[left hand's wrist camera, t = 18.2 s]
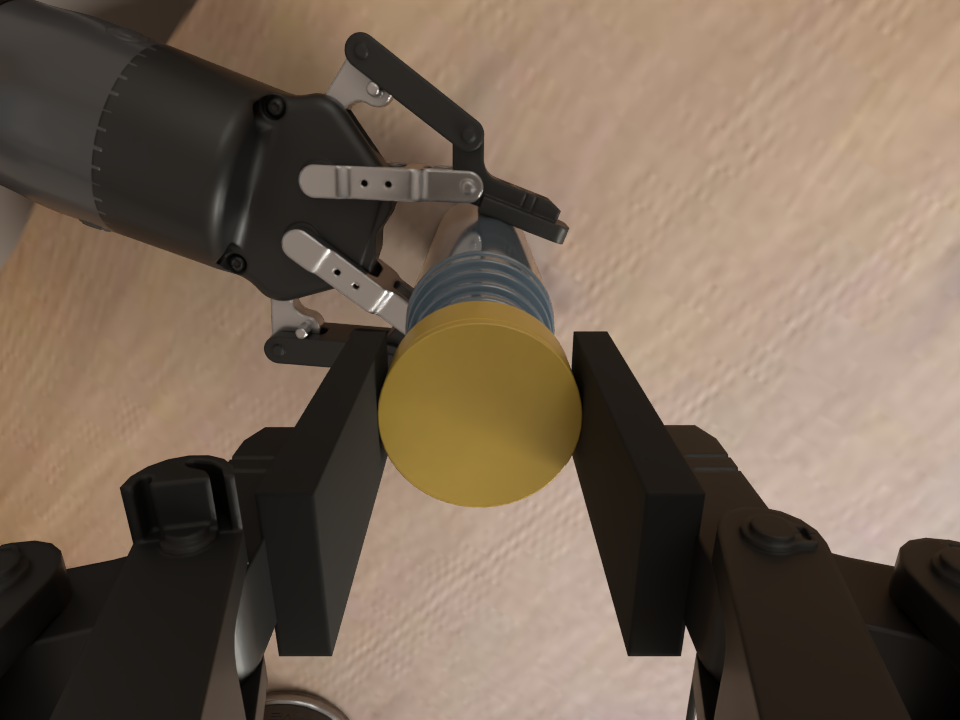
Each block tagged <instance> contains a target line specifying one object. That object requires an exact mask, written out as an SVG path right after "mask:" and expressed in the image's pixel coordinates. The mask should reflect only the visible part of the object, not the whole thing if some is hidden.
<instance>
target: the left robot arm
mask: <svg viewBox="0 0 960 720" xmlns="http://www.w3.org/2000/svg"><path fill="white" fill-rule="evenodd" d="M387 372H388V353H387V336H386V332H352V334H351V335H350V337H349V339H348V340H347V342H346V344H345V345H344V347H343V349H342V350H341V352H340V353H339V355H338V357H337V358H336V360H335V362H334V363H333V365H332V367H331V368H330V370H329V372H328V373H327V375H326V376H325V378H324V380H323V381H322V383H321V385H320V386H319V388H318V390H317V391H316V393H315V395H314V396H313V398H312V399H311V401H310V403H309V404H308V406H307V408H306V409H305V411H304V413H303V414H302V416H301V418H300V419H299V421H298V422H297V424H296V426H295V427H265V428H263V429H262V430H260V431H259V432H257V433H255V434H254V435H252V436H251V437H249V438H248V439H246V440H244V441H243V443H242V444H241V445H240V447H239V448H238V450H237V451H236V452H235V454H234V455H233V456H232V460H229V462H227V461H226V460H225V459H222V458H218V457H214V456H209V455H192V456H184V457H179V458H173V459H168V460H165V461H162V462H159V463H157V464H154V465H151V466H148V467H146V468H144V469H143V470H141V471H139V472H138V473H136V474H134V475H132V476H131V477H130V478H129V479H128V480H127V481H126V482H125V483H124V484H123V485H122V486H121V487H120V491H121V495H122V499H123V503H124V507H125V511H126V515H127V520H128V524H129V528H130V532H131V536H132V540H133V546H132V548H131V550H130V552H129V554H128V556H126V557H122V558H118V559H115V560H110V561H105V562H100V563H95V564H90V565H85V566H80V567H75V568H70V569H66V567H65V563H64V560H63V556H62V553H61V551H60V550H59V549H58V548H57V547H55V546H54V545H53V544H52V543H46V542H40V541H27V542H16V543H9V544H4V545H1V546H0V720H263V716H264V707H265V699H266V691H267V682H268V680H267V672H266V666H265V659H264V652H265V650H266V647H267V645H268V642H269V640H270V637H271V635H272V632H273V630H274V628H275V632H276V639H277V645H278V652H279V656H332V654H333V651H334V647H335V643H336V640H337V636H338V632H339V629H340V625H341V622H342V618H343V614H344V611H345V607H346V604H347V600H348V596H349V593H350V589H351V586H352V582H353V578H354V575H355V571H356V568H357V564H358V560H359V557H360V553H361V550H362V546H363V542H364V539H365V535H366V532H367V528H368V524H369V521H370V517H371V514H372V510H373V506H374V503H375V499H376V496H377V492H378V488H379V485H380V481H381V477H382V474H383V470H384V467H385V463H386V459H387V456H388V455H387V453H386V451H385V449H384V446H383V443H382V440H381V438H380V433H379V428H378V415H377V411H378V401H379V397H380V392H381V389H382V386H383V383H384V380H385V378H386V375H387ZM572 373H573V376H574V379H575V381H576V384H577V387H578V389H579V393H580V398H581V402H582V428H581V432H580V436H579V440H578V443H577V445H576V448H575V451H574V452H573V454H572V456H573V460H574V463H575V467H576V470H577V474H578V478H579V481H580V485H581V488H582V492H583V496H584V499H585V503H586V506H587V510H588V514H589V517H590V521H591V524H592V528H593V532H594V535H595V539H596V542H597V546H598V550H599V553H600V557H601V560H602V564H603V568H604V571H605V575H606V578H607V582H608V586H609V589H610V593H611V597H612V600H613V604H614V607H615V611H616V615H617V618H618V622H619V625H620V629H621V633H622V636H623V640H624V643H625V647H626V651H627V654H628V656H681V652H682V645H683V639H684V632H685V625H686V627H687V629H688V632H689V634H690V637H691V639H692V642H693V644H694V646H695V649H696V651H697V653H696V659H695V666H694V672H693V678H692V684H691V690H690V696H689V702H688V708H687V716H686V720H695V715H696V714H697V720H960V542H957V541H952V540H943V539H933V538H922V539H916V540H910V541H908V542H907V543H906V544H904V545H903V546H902V547H901V548H900V550H899V553H898V556H897V560H896V563H895V567H894V566H889V565H884V564H879V563H874V562H869V561H864V560H859V559H854V558H849V557H845V556H841V555H837V554H833V553H831V551H830V549H829V547H828V544H827V543H826V541H825V540H824V539H823V538H822V536H821V535H820V534H819V533H818V531H817V530H815V529H814V528H812V527H811V526H809V525H808V524H807V523H805V522H804V521H802V520H801V519H798V518H796V517H793V516H791V515H789V514H786V513H784V512H781V511H777V510H772V509H769V508H768V507H767V506H766V504H765V503H764V502H763V500H762V499H761V498H760V496H759V495H758V494H757V492H756V491H755V490H754V488H753V487H752V486H751V484H750V483H749V482H748V480H747V479H746V478H745V476H744V475H743V474H742V472H741V471H738V467H737V466H736V464H735V463H734V462H733V460H732V459H731V458H730V457H728V454H727V452H726V451H725V450H724V448H723V447H722V446H721V444H720V443H719V442H718V440H717V439H716V438H714V437H713V436H711V435H710V434H708V433H707V432H705V431H703V430H702V429H700V428H699V427H697V426H695V425H664V424H663V423H662V421H661V419H660V418H659V416H658V414H657V413H656V411H655V409H654V408H653V406H652V404H651V403H650V401H649V400H648V398H647V396H646V395H645V393H644V391H643V390H642V388H641V386H640V385H639V383H638V381H637V380H636V378H635V376H634V375H633V373H632V372H631V370H630V368H629V367H628V365H627V363H626V362H625V360H624V358H623V357H622V355H621V353H620V352H619V350H618V349H617V347H616V345H615V344H614V342H613V340H612V339H611V337H610V335H609V334H608V332H574V335H573V353H572Z"/></svg>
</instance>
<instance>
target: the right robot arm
mask: <svg viewBox="0 0 960 720" xmlns="http://www.w3.org/2000/svg"><path fill="white" fill-rule="evenodd" d="M345 55H346V58H347V59H346V60H345V62H344V64H343V65H342V67H341V69H340V70H339V72H338V74H337V75H336V77H335V79H334V80H333V82H332V84H331V85H330V87H329V89H328V90H327V92H326V94H320V93H315V94H309V95H293V94H290V93H287V92H285V91H282V90H280V89H277V88H275V87H272V86H269V85H267V84H264V83H262V82H259V81H257V80H254V79H252V78H249V77H247V76H244V75H242V74H239V73H237V72H234V71H231V70H229V69H226V68H224V67H221V66H219V65H216V64H214V63H211V62H209V61H206V60H204V59H201V58H199V57H196V56H194V55H191V54H189V53H186V52H184V51H181V50H179V49H176V48H174V47H171V46H168V45H166V44H163V43H161V42H158V41H156V40H153V39H151V38H148V37H146V36H144V35H142V34H140V33H138V32H136V31H133V30H130V29H127V28H123V27H121V26H118V25H116V24H113V23H110V22H107V21H105V20H102V19H99V18H96V17H93V16H89V15H86V14H82V13H79V12H74V11H70V10H66V9H62V8H58V7H54V6H50V5H47V4H44V3H41V2H39V1H36V0H0V185H2V186H4V187H6V188H8V189H10V190H13V191H15V192H17V193H19V194H21V195H22V196H24V197H26V198H28V199H30V200H32V201H34V202H36V203H38V204H40V205H43V206H45V207H47V208H50V209H52V210H55V211H57V212H60V213H63V214H65V215H68V216H71V217H74V218H76V219H79V220H80V221H81V222H82V223H83V224H85V225H88V226H90V227H93V228H96V229H100V230H103V231H108V232H111V231H113V232H116V233H118V234H121V235H124V236H127V237H130V238H133V239H136V240H138V241H141V242H144V243H147V244H150V245H152V246H155V247H158V248H161V249H164V250H166V251H169V252H172V253H175V254H178V255H181V256H183V257H186V258H189V259H192V260H195V261H197V262H200V263H203V264H206V265H209V266H212V267H214V268H217V269H220V270H224V271H227V272H231V273H234V274H237V275H240V276H242V277H244V278H246V279H247V280H249V281H250V282H251V283H253V284H254V285H255V286H256V287H257V288H258V289H259V290H260V291H261V292H262V293H263V294H264V295H265V296H267V297H269V298H271V316H272V335H271V337H270V338H269V339H268V340H267V342H266V343H265V346H264V351H265V354H266V356H267V357H268V358H269V359H270V360H271V361H273V362H275V363H282V364H294V365H307V366H319V367H332V365H333V363H334V362H335V360H336V358H337V357H338V355H339V353H340V352H341V350H342V349H343V347H344V345H345V344H346V342H347V340H348V339H349V337H350V335H351V334H352V332H386V336H387V353H388V370H389V367H390V364H391V361H392V359H393V357H394V354H395V352H396V350H397V348H398V346H399V344H400V343H401V341H402V340H403V338H404V337H405V325H406V312H407V306H408V303H409V299H410V297H411V294H412V292H413V289H414V288H412V287H411V286H410V285H409V284H407V283H406V282H405V281H403V280H402V279H401V278H400V277H399V275H398V274H397V272H396V271H395V270H393V269H392V268H391V267H390V266H388V265H387V264H386V263H384V262H383V261H382V260H380V259H379V255H380V252H381V249H382V246H383V227H384V225H385V223H386V222H387V220H388V219H389V217H390V216H391V214H392V213H393V211H394V209H395V205H396V202H397V201H403V202H421V201H435V202H455V203H470V204H473V205H475V206H478V213H480V214H482V215H485V216H488V217H490V218H493V219H496V220H499V221H502V222H504V223H506V224H508V225H511V226H513V227H516V228H519V229H521V230H524V231H526V232H529V233H532V234H534V235H537V236H539V237H542V238H545V239H547V240H550V241H552V242H555V243H558V244H563V242H564V239H565V237H566V235H567V232H568V230H569V227H568V226H567V225H566V224H565V223H564V222H562V221H560V220H558V216H559V214H560V212H561V211H560V210H559V209H558V208H557V207H556V206H555V205H554V204H553V203H552V202H551V201H550V200H549V199H548V198H547V197H544V196H542V195H539V194H537V193H534V192H531V191H529V190H526V189H524V188H521V187H519V186H516V185H514V184H511V183H509V182H506V181H504V180H501V179H499V178H496V177H494V176H492V175H491V174H490V173H489V172H488V171H487V169H486V168H485V165H484V130H483V127H482V125H481V124H480V123H479V122H478V121H477V120H476V119H474V118H473V117H472V116H471V115H469V114H468V113H467V112H466V111H464V110H463V109H462V108H461V107H459V106H458V105H457V104H456V103H454V102H453V101H452V100H450V99H449V98H448V97H447V96H445V95H444V94H443V93H442V92H440V91H439V90H438V89H437V88H435V87H434V86H433V85H432V84H430V83H429V82H428V81H427V80H425V79H424V78H423V77H422V76H420V75H419V74H418V73H417V72H415V71H414V70H413V69H412V68H410V67H409V66H408V65H406V64H405V63H404V62H403V61H401V60H400V59H399V58H398V57H396V56H395V55H394V54H393V53H391V52H390V51H389V50H388V49H386V48H385V47H384V46H383V45H381V44H380V43H379V42H378V41H376V40H375V39H374V38H373V37H371V36H370V35H368V34H366V33H363V32H357V33H354V34H352V35H351V36H350V37H349V38H348V40H347V41H346V44H345ZM394 98H395V99H396V100H397V101H398V102H400V103H401V104H402V105H404V106H405V107H406V108H407V109H409V110H410V111H411V112H413V113H414V114H415V115H416V116H418V117H419V118H420V119H422V120H423V121H424V122H425V123H427V124H428V125H429V126H431V127H432V128H433V129H434V130H436V131H437V132H438V133H440V134H441V135H442V136H443V137H445V138H446V139H447V140H449V141H450V142H451V143H452V144H453V166H442V165H428V164H419V163H399V162H386V161H385V160H384V158H383V157H382V155H381V154H380V152H379V151H378V150H377V148H376V147H375V145H374V144H373V142H372V141H371V139H370V138H369V136H368V135H367V133H366V132H365V130H364V129H363V127H362V126H361V124H360V123H359V121H358V120H357V118H356V117H355V116H354V114H353V113H352V111H351V110H350V109H351V108H352V107H353V106H354V105H355V104H357V103H359V102H365V103H367V104H369V105H371V106H374V107H385V106H387V105H389V104H390V103H391V102H392V100H393V99H394ZM355 283H357V284H358V285H359V286H356V284H355ZM334 288H335V289H337V290H338V291H339V292H341V293H342V294H343V295H345V296H346V297H347V298H349V299H350V300H351V301H353V302H354V303H356V304H357V305H358V306H360V307H361V308H362V309H364V310H365V311H367V312H369V313H372V314H377V315H378V316H380V317H381V318H383V319H384V320H385V321H387V322H388V323H389V324H391V325H392V326H393V327H392V328H385V327H373V326H361V325H349V324H337V323H325V322H324V319H323V317H322V315H321V314H320V313H318V312H317V311H315V310H311V309H308V308H306V307H304V306H303V305H302V304H301V302H300V301H299V298H301V297H304V296H308V295H312V294H316V293H319V292H323V291H327V290H330V289H334ZM263 720H349V719H348V717H347V716H346V715H345V714H344V713H343V712H342V711H341V710H340V709H338V708H337V707H336V706H334V705H333V704H331V703H329V702H328V701H326V700H324V699H321V698H319V697H316V696H313V695H310V694H306V693H301V692H293V691H276V692H269V693H266V699H265V707H264V716H263Z"/></svg>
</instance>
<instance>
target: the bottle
mask: <svg viewBox="0 0 960 720" xmlns="http://www.w3.org/2000/svg"><path fill="white" fill-rule="evenodd" d="M468 301H492V302H499V303H503V304H507V305H510V306H513V307H516V308H518V309H521V310H523V311H525V312H527V313H528V314H530V315H532V316H534V317H535V318H536V319H538V320H539V321H540V322H541V323H543V324H544V325H545V326H546V327H547V328H548V329H549V330H550V331H551V332H552V333H553V335H554V331H555V330H554V313H553V308H552V303H551V300H550V297H549V295H548V292H547V290H546V287H545V285H544V282H543V280H542V277H541V275H540V272H539V270H538V267H537V265H536V262H535V260H534V257H533V255H532V252H531V250H530V247H529V245H528V242H527V240H526V237H525V235H524V232H523V230H521V229H519V228H516V227H513V226H511V225H508V224H506V223H504V222H502V221H499V220H496V219H493V218H490V217H488V216H485V215H482V214H480V213H478V206H475V205H473V204H470V203H456V204H455V205H453V206H452V207H451V208H450V209H449V210H448V211H447V212H446V213H445V215H444V216H443V218H442V220H441V222H440V224H439V226H438V229H437V231H436V234H435V236H434V239H433V241H432V244H431V246H430V249H429V252H428V254H427V257H426V259H425V262H424V264H423V267H422V269H421V272H420V274H419V277H418V279H417V282H416V284H415V287H414V289H413V292H412V294H411V297H410V299H409V303H408V306H407V312H406V325H405V336H406V334H407V333H408V332H409V331H410V330H411V329H412V328H413V327H414V326H415V325H416V324H417V323H418V322H420V321H421V320H422V319H424V318H425V317H426V316H428V315H430V314H431V313H433V312H435V311H437V310H439V309H441V308H444V307H447V306H449V305H453V304H457V303H461V302H468Z"/></svg>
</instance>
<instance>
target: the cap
mask: <svg viewBox="0 0 960 720" xmlns="http://www.w3.org/2000/svg"><path fill="white" fill-rule="evenodd" d="M377 415H378V428H379V433H380V438H381V440H382V443H383V446H384V449H385V451H386V453H387V455H388V457H389V458H390V460H391V461H392V463H393V464H394V466H395V467H396V469H397V470H398V471H399V472H400V473H401V474H402V475H403V476H404V478H405V479H407V480H408V481H409V482H410V483H411V484H413V485H414V486H415V487H417V488H418V489H420V490H421V491H423V492H424V493H426V494H428V495H430V496H432V497H434V498H436V499H439V500H441V501H444V502H447V503H451V504H455V505H459V506H467V507H493V506H500V505H505V504H509V503H513V502H516V501H518V500H521V499H524V498H526V497H528V496H530V495H532V494H534V493H535V492H537V491H539V490H540V489H542V488H543V487H545V486H546V485H547V484H548V483H550V482H551V481H552V480H553V479H554V478H555V477H556V476H557V475H558V474H559V473H560V472H561V471H562V470H563V468H564V467H565V465H566V464H567V463H568V461H569V460H570V458H571V456H572V454H573V452H574V451H575V448H576V445H577V443H578V440H579V436H580V432H581V428H582V402H581V398H580V393H579V389H578V387H577V384H576V381H575V379H574V376H573V373H572V371H571V368H570V365H569V362H568V360H567V357H566V354H565V352H564V350H563V348H562V346H561V345H560V343H559V341H558V340H557V339H556V337H555V336H554V335H553V333H552V332H551V331H550V330H549V329H548V328H547V327H546V326H545V325H544V324H543V323H541V322H540V321H539V320H538V319H536V318H535V317H534V316H532V315H530V314H528V313H527V312H525V311H523V310H521V309H518V308H516V307H513V306H510V305H507V304H503V303H499V302H492V301H468V302H461V303H457V304H453V305H449V306H447V307H444V308H441V309H439V310H437V311H435V312H433V313H431V314H430V315H428V316H426V317H425V318H424V319H422V320H421V321H420V322H418V323H417V324H416V325H415V326H414V327H413V328H412V329H411V330H410V331H409V332H408V333H407V334H406V336H405V337H404V338H403V340H402V341H401V343H400V344H399V346H398V348H397V350H396V352H395V354H394V357H393V359H392V361H391V364H390V367H389V370H388V372H387V375H386V378H385V380H384V383H383V386H382V389H381V392H380V397H379V401H378V411H377Z"/></svg>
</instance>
